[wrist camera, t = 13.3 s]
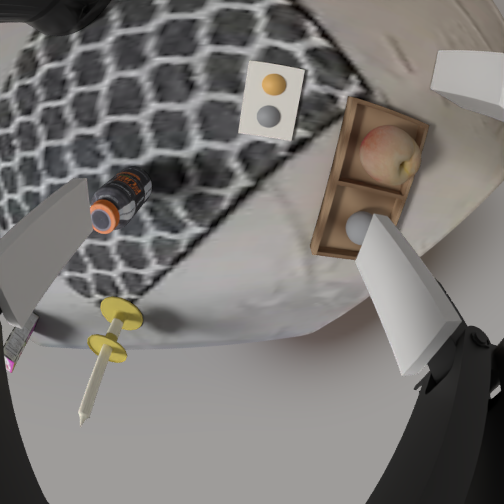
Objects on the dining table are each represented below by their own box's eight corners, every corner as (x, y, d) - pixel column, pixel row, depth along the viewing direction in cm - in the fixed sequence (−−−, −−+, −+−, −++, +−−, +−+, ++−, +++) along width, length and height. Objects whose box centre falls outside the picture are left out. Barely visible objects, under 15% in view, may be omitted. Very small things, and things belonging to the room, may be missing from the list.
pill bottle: (157, 174, 38) (128, 208, 28) (146, 208, 41) (118, 249, 31) (122, 160, 36) (84, 189, 27) (113, 194, 39) (77, 231, 30)
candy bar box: (33, 331, 61) (11, 374, 48) (21, 321, 59) (-2, 363, 45) (40, 317, 57) (14, 364, 43) (26, 305, 55) (-1, 351, 41)
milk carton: (429, 89, 29) (524, 114, 13) (437, 50, 25) (532, 56, 9) (460, 107, 30) (550, 143, 14) (468, 71, 26) (558, 92, 10)
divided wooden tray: (348, 96, 31) (354, 97, 29) (420, 122, 32) (429, 125, 30) (309, 246, 44) (312, 254, 42) (375, 255, 45) (380, 263, 43)
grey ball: (347, 202, 39) (357, 218, 35) (375, 208, 40) (388, 224, 36) (337, 231, 42) (346, 249, 38) (365, 236, 43) (376, 253, 38)
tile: (249, 60, 29) (249, 60, 29) (304, 70, 30) (305, 69, 29) (238, 132, 35) (238, 133, 34) (290, 140, 35) (291, 141, 35)
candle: (108, 288, 50) (55, 407, 28) (150, 314, 54) (115, 436, 31) (95, 313, 54) (51, 417, 32) (133, 335, 58) (100, 442, 36)
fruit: (377, 184, 38) (401, 208, 31) (341, 148, 35) (361, 166, 28) (411, 147, 34) (441, 165, 27) (377, 109, 31) (405, 117, 25)
